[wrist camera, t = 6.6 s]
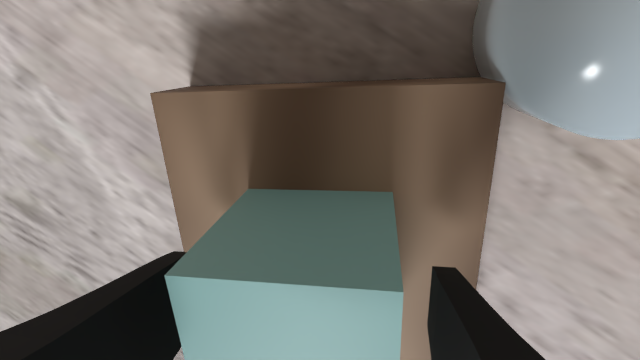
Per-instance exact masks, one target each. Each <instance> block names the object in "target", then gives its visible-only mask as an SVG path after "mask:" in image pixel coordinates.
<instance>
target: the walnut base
mask: <svg viewBox="0 0 640 360" xmlns="http://www.w3.org/2000/svg"><path fill="white" fill-rule="evenodd" d="M505 85H506V83H505V82H501V81H496V80H492V79H487V78H482V77H468V78H437V79H406V80H376V81H345V82H314V83H284V84H253V85H223V86H192V87H184V88H178V89H172V90H166V91H160V92H154V93H150V94H151V99H152V104H153V108H154V113H155V118H156V122H157V127H158V132H159V136H160V141H161V146H162V151H163V155H164V160H165V165H166V169H167V174H168V179H169V183H170V188H171V193H172V198H173V202H174V207H175V212H176V216H177V221H178V226H179V230H180V235H181V240H182V245H183V249H184V252H188V251H189V249H190V248H191V247H192V246H193V245H194V244H195V243H196V242H197V241H198V240H199V239H200V238H201V237H202V236H203V235H204V234H205V233H206V232H207V231H208V230H209V229H210V228H211V227H212V226H213V225H214V224H215V223H216V222H217V221H218V220H219V218H220V217H221V216H222V215H223V214H224V213H225V212H226V211H227V210H228V209H229V208H230V207H231V206H232V205H233V204H234V203H235V202H236V201H237V200H238V199H239V198H240V197H241V196H242V195H243V194H244V193H245V192H246V191H247V190H248V189H279V190H325V191H371V192H393V199H394V208H395V217H396V227H397V236H398V245H399V255H400V264H401V273H402V282H403V292H404V293H403V312H402V331H401V349H400V360H431V353H430V345H429V336H428V328H427V321H428V310H429V298H430V287H431V275H432V266H438V267H456V268H457V269H458V271H459V272H460V273H461V274H462V275H463V276H464V277H465V278H466V279H467V281H468V282H469V283H470V284H471V285H472V286H473V287H474V288H475V290H476V285H477V279H478V272H479V265H480V258H481V251H482V244H483V237H484V230H485V223H486V216H487V210H488V203H489V196H490V189H491V182H492V175H493V168H494V161H495V154H496V147H497V141H498V134H499V127H500V120H501V113H502V106H503V99H504V92H505Z"/></svg>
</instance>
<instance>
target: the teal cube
mask: <svg viewBox="0 0 640 360" xmlns="http://www.w3.org/2000/svg"><path fill="white" fill-rule="evenodd" d="M164 276H165V280H166V284H167V288H168V293H169V297H170V301H171V305H172V309H173V313H174V317H175V321H176V325H177V329H178V334H179V338H180V342H181V346H182V350H183V354H184V358H185V360H400V349H401V331H402V312H403V293H404V292H403V282H402V273H401V264H400V255H399V245H398V236H397V227H396V217H395V208H394V199H393V192H371V191H325V190H279V189H248V190H247V191H246V192H245V193H244V194H243V195H242V196H241V197H240V198H239V199H238V200H237V201H236V202H235V203H234V204H233V205H232V206H231V207H230V208H229V209H228V210H227V211H226V212H225V213H224V214H223V215H222V216H221V217H220V218H219V220H218V221H217V222H216V223H215V224H214V225H213V226H212V227H211V228H210V229H209V230H208V231H207V232H206V233H205V234H204V235H203V236H202V237H201V238H200V239H199V240H198V241H197V242H196V243H195V244H194V245H193V246H192V247H191V248H190V249H189V251H188V252H187V253H186V254H185V255H184V256H183V257H182V258H181V259H180V260H179V261H178V262H177V263H176V264H175V265H174V266H173V267H172V268H171V269H170V270H169V271H168V272H167V273H166V274H165V275H164Z"/></svg>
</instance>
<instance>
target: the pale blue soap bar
mask: <svg viewBox="0 0 640 360" xmlns="http://www.w3.org/2000/svg"><path fill="white" fill-rule="evenodd" d="M472 43H473V54H474V58H475V62H476V66H477V69H478V71H479V74H480V76H481V77H482V78H487V79H492V80H496V81H501V82H505V83H506V85H505V92H504V99H503V103H505V104H506V105H508V106H509V107H511V108H514V109H516V110H518V111H520V112H523V113H525V114H528V115H530V116H533V117H535V118H538V119H540V120H543V121H545V122H548V123H550V124H553V125H555V126H558V127H560V128H563V129H565V130H568V131H570V132H573V133H577V134H580V135H583V136H587V137H592V138H598V139H610V140H626V139H638V138H640V0H480V1H479V4H478V8H477V11H476V14H475V19H474V25H473V38H472Z"/></svg>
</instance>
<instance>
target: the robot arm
mask: <svg viewBox="0 0 640 360" xmlns="http://www.w3.org/2000/svg"><path fill="white" fill-rule="evenodd" d="M186 253H187V252H175V251H174V252H171V253H169V254H166V255H164V256H162V257H160V258H158V259H155V260H153V261H151V262H149V263H147V264H145V265H143V266H141V267H139V268H137V269H135V270H134V271H132V272H130V273H128V274H126V275H124V276H122V277H120V278H118V279H116V280H114V281H112V282H110V283H108V284H106V285H104V286H102V287H100V288H98V289H96V290H94V291H92V292H90V293H88V294H86V295H84V296H81V297H79V298H77V299H75V300H73V301H71V302H69V303H67V304H65V305H63V306H61V307H58V308H56V309H54V310H52V311H50V312H47V313H45V314H43V315H40V316H38V317H36V318H33V319H31V320H29V321H26V322H24V323H21V324H19V325H16V326H14V327H11V328H9V329H6V330H4V331H1V332H0V360H173V359H174V357H175V356H176V354H177V352H178V351H179V349H180V348H181V342H180V338H179V334H178V329H177V325H176V321H175V317H174V313H173V309H172V305H171V301H170V297H169V293H168V288H167V284H166V280H165V276H164V275H165V274H166V273H167V272H168V271H169V270H170V269H171V268H172V267H173V266H174V265H175V264H176V263H177V262H178V261H179V260H180V259H181V258H182V257H183V256H184V255H185V254H186ZM427 328H428V336H429V345H430V353H431V360H545V359H544V358H543V357H542V356H541V355H540V354H539V353H538V352H537V351H536V350H534V349H533V348H532V347H531V346H530V345H529V344H528V343H527V342H526V341H525V340H524V339H523V338H522V337H520V336H519V335H518V334H517V333H516V332H515V331H514V330H513V329H512V328H511V327H510V326H509V325H508V324H507V323H506V322H505V320H504V319H503V318H502V317H501V316H500V315H499V314H498V313H497V312H496V311H495V310H494V309H493V308H492V307H491V306H490V305H489V304H488V303H487V302H486V301H485V299H484V298H483V297H482V296H481V295H480V294H479V293H478V292H477V291H476V290H475V288H474V287H473V286H472V285H471V284H470V283H469V282H468V281H467V279H466V278H465V277H464V276H463V275H462V274H461V273H460V272H459V271H458V269H457V268H456V267H438V266H432V275H431V287H430V298H429V310H428V321H427Z"/></svg>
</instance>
